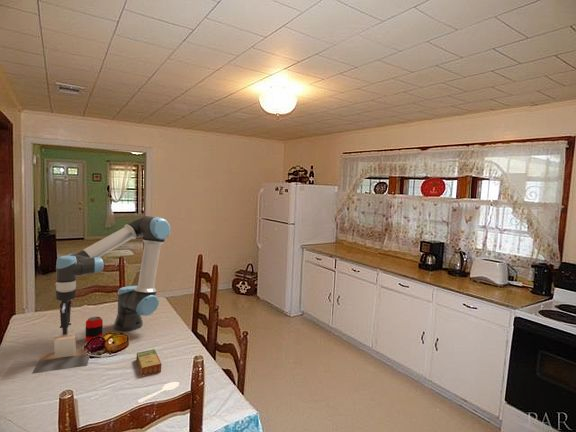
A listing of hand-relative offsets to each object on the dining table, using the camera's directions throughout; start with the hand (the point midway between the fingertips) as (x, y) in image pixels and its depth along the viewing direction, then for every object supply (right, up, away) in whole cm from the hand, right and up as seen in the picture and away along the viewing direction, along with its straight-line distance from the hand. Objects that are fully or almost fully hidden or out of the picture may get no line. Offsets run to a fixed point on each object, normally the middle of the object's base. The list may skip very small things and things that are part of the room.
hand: (65, 340), depth 157 cm
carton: (+39, -11, -2) cm, 41 cm away
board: (+1, -9, -3) cm, 9 cm away
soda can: (+2, -8, +19) cm, 21 cm away
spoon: (+52, -13, -22) cm, 58 cm away
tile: (0, -7, 0) cm, 7 cm away
